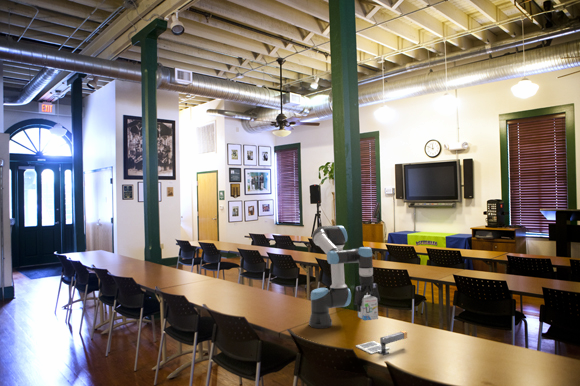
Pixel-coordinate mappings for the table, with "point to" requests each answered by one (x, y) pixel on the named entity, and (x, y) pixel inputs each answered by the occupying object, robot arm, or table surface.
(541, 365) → the table surface
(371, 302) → the ink box
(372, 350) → the label plate
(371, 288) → the robot arm
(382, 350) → the pivot post
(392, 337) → the swing arm
